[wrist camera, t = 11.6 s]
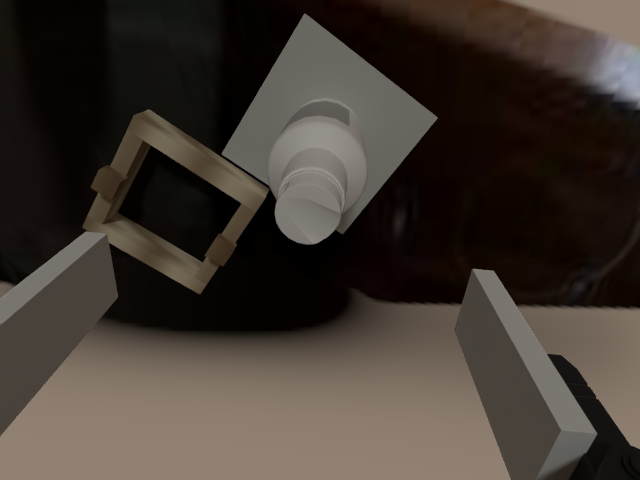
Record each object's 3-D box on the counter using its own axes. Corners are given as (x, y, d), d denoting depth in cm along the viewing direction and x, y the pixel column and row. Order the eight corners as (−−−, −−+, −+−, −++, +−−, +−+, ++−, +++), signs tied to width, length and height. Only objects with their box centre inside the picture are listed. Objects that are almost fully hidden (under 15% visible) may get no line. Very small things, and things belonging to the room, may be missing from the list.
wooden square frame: (96, 214, 42) (70, 232, 38) (146, 107, 37) (122, 116, 33) (210, 280, 45) (197, 304, 41) (271, 190, 40) (263, 207, 36)
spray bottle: (318, 80, 35) (293, 118, 19) (378, 131, 36) (403, 206, 20) (272, 142, 37) (216, 223, 21) (330, 187, 39) (319, 294, 23)
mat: (223, 152, 39) (221, 154, 38) (305, 13, 33) (304, 13, 33) (342, 231, 42) (342, 234, 41) (436, 116, 36) (437, 117, 36)
